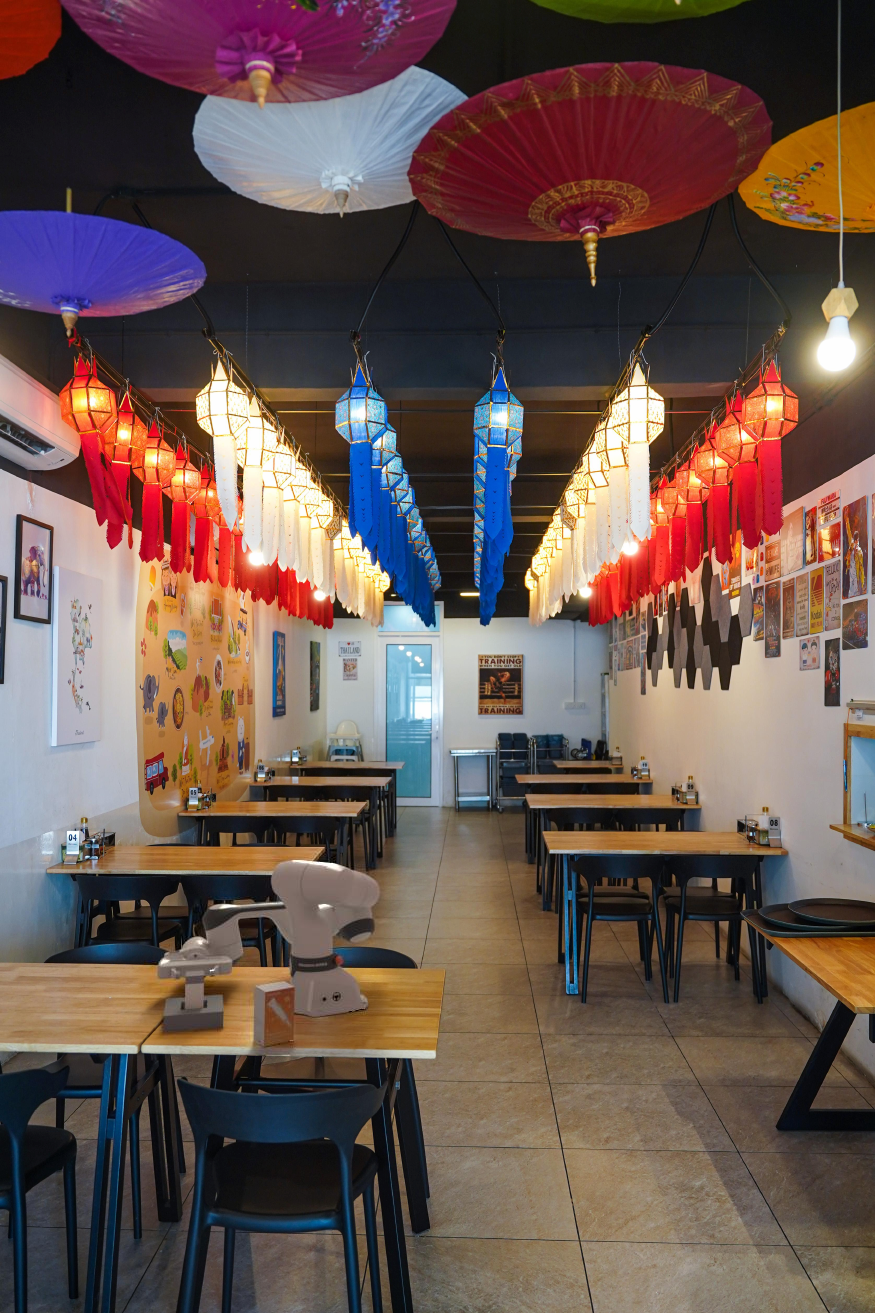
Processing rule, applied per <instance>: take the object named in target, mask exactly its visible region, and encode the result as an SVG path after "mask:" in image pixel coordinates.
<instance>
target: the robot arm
mask: <svg viewBox="0 0 875 1313" xmlns="http://www.w3.org/2000/svg"><path fill="white" fill-rule="evenodd" d="M270 884H271V887H272V891H273V892H274V893H275V895H276V896H278V898H279V899H280V900H281V901H263V902H260V901H259V902H249V903H248V902H247V903H239V904H236V903H234V904H232V903H231V904H230V903H229V904H228V903H220V904H219V903H218V904H214V905H212V906H209V907H208V908H207V909H206V911H205V913H204V915H203V916H202V918H201V921H202V924H203V929H204V931H205V935H206V936H205V937H206V938H204V937H202V936H194V937H191V938H190V939H187V941H185V942H184V944H183V945H182V947H181V949H179V950H175V951H174V950H172V951H167V952H165V953H164V956H163V957H161V959H160V961H159V962H158V965H157V979H160V980H163V979H165V980H166V979H173V980H180V979H181V978H184V979H186V972H190V971H204V977H207V976H209V977H210V978H213V977H216V976H223V975H224V976H225V975H230V974H232V972H233V967H234V966H236V965H237V964H238V963H239V961H240V960H241V959H242V957H243V955H244V950H243V944H242V938H241V934H240V928H239V920H240V919H250V918H251V919H252V918H253V919H254V918H269V919H270V920H271V921H272V922H273V923H274V924H275V925H276V927H277V930H279V932H280V934H281V935H282V937H283V938H284V939H285V940H286V941H287V942H288V943H289V944H291V953H290V956H289V975H290V979H289V980H290V982H289V984H290V985H292V986H294V987H295V997H294V1014H300V1015H304V1016H309V1017H313V1018H317V1017H324V1016H331V1015H338V1014H343V1013H350V1012H349V1011H352V1012H356V1011H355V1010H359V1009H364V1008H366V1007H367V1006H368V1007H369V1002H368V1001H369V1000H368V998H367V997H366V996H365V994H363V993H361V991H360V985H359V983H358V980H357V978H356V977H354V976H353V975H352V974H351V973H349V972H348V971H347V970H345V969H344V968H343V967H342V966H341V965H343V964H344V959H343V957H342V956H340V954H339V953H337V952H336V951H333V937H335V936H337V937H338V938H342V940H344V941H346V942H348V943H359V942H360V943H361V942H363V941H365V940H367V939H368V938H370V937H371V936H373V934H374V932H375V931H376V926H375V925H376V924H375V919H374V918H373V912H372V907H373V906H374V905H375V904H376V903H377V902H378V901H379V899H380V894H381V891H380V886H379V883H378V882H377V881H376V880H375V879H374V878H372V877H371V876H370V875H367V874H366V873H364V872H360V871H357V870H353V869H351V868H348V867H346V866H343V865H340V864H337V863H333V862H331V863H330V862H321V861H311V860H300V859H292V860H286V861H282V862H279V863H278V864H277V865H276V866H275V868H274V869H273V871H272V874H271V878H270ZM368 1007H367V1008H368ZM367 1008H366V1009H367ZM359 1011H360V1010H359Z"/></svg>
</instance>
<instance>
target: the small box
mask: <svg viewBox="0 0 875 1313" xmlns="http://www.w3.org/2000/svg"><path fill="white" fill-rule="evenodd" d="M253 993H254V995H253V996H254V997H253V1000H254V1001H253V1035H252V1037H253V1038H252V1039H253V1041H254V1042H256V1043H257V1044H259V1045H260V1046H262V1047H263V1048H265V1047H270V1046H274V1045H273V1044H275V1045H279V1043H280V1044H284V1042H285V1043H289V1042H288V1041H290V1040H293V1041H294V1038H295V1037H294V1032H295V1013H294V997H295V987H294V986H292V985H290V982H287V981H285V980H282V981H277V982H270V983H265V984H259V985H254V992H253ZM290 1042H291V1041H290Z"/></svg>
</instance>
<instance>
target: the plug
mask: <svg viewBox="0 0 875 1313" xmlns="http://www.w3.org/2000/svg"><path fill="white" fill-rule="evenodd" d="M184 983H185V987H184V988H185V990H184V992H185V993H184V997H185V1009H198V1008H203V1000H204V996H205V995H204V992H205V988H204V986H205V985H204V984H205V976H204V971H190V972H186V978H185V982H184Z"/></svg>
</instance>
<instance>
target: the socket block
mask: <svg viewBox="0 0 875 1313" xmlns="http://www.w3.org/2000/svg"><path fill="white" fill-rule="evenodd" d="M223 999H224V997H223V994H213V995H211V994H210V995H204V1000H203V1008H198V1009H185V996H184V997H183V996H182V997H172V998H171V997H170V998H166V999H165V1003H164V1004H165V1005H164V1011H163V1021H162V1022H163V1027H162V1032H163V1033H174V1032H186V1031H196V1030H198V1031H199V1030H210V1029H211V1030H212V1029H220V1028H222V1029H223V1028H224V1012H225V1011H224V1000H223Z"/></svg>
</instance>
